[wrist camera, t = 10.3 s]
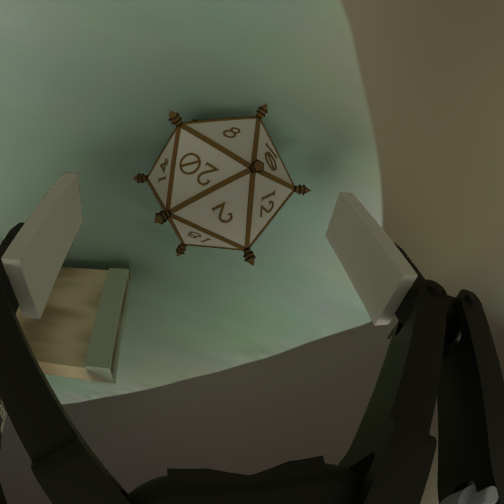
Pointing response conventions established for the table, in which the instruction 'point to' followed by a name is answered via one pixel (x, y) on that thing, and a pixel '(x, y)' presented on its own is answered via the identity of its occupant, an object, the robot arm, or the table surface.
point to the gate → (81, 324)
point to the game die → (220, 182)
